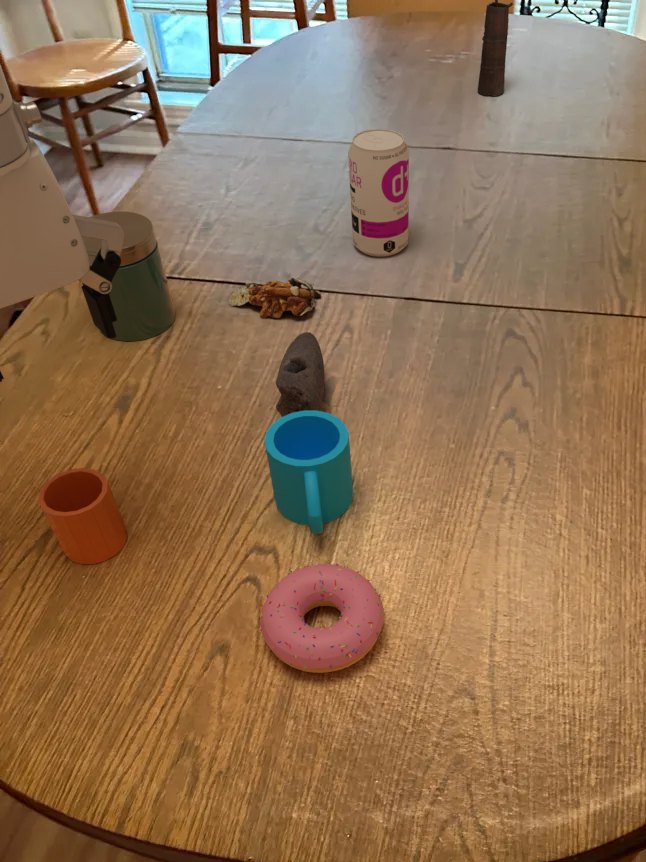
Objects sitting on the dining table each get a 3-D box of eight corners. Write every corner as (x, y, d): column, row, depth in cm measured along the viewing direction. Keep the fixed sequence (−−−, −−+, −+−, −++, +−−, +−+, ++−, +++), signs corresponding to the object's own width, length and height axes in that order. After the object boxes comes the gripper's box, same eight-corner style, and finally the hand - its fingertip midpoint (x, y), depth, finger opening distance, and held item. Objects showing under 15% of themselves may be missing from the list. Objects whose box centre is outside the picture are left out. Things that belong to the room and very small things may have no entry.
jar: (95, 345, 100) (66, 261, 91) (100, 303, 106) (73, 220, 98) (175, 336, 101) (154, 252, 92) (175, 295, 108) (155, 212, 99)
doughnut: (238, 645, 70) (230, 618, 67) (311, 564, 76) (307, 536, 73) (339, 703, 66) (335, 676, 63) (407, 612, 72) (407, 584, 69)
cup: (60, 569, 76) (34, 519, 70) (66, 522, 80) (42, 472, 74) (126, 559, 76) (105, 510, 71) (128, 513, 80) (109, 464, 75)
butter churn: (525, 87, 158) (544, -89, 137) (510, 103, 152) (527, -77, 131) (482, 80, 160) (494, -93, 139) (465, 96, 155) (475, -82, 134)
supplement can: (419, 244, 117) (421, 138, 105) (380, 265, 113) (378, 158, 101) (380, 225, 120) (378, 122, 109) (341, 245, 116) (335, 140, 105)
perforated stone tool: (291, 360, 98) (285, 312, 92) (334, 361, 98) (329, 312, 92) (274, 441, 88) (265, 391, 83) (321, 442, 88) (315, 393, 82)
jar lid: (71, 271, 92) (65, 255, 91) (77, 231, 99) (72, 215, 97) (156, 263, 93) (151, 246, 92) (157, 224, 100) (153, 208, 98)
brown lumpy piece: (237, 287, 109) (233, 263, 106) (322, 293, 108) (320, 269, 105) (222, 315, 104) (217, 291, 102) (311, 322, 103) (308, 298, 100)
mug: (273, 473, 84) (263, 414, 78) (349, 465, 85) (344, 406, 79) (277, 558, 77) (266, 499, 70) (361, 548, 77) (357, 490, 71)
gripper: (66, 92, 58) (127, 297, 71) (-189, 154, 51) (-69, 370, 64) (109, 123, 54) (166, 335, 67) (-160, 196, 47) (-39, 416, 60)
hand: (51, 352), depth 66 cm, fingers open, 9 cm apart
